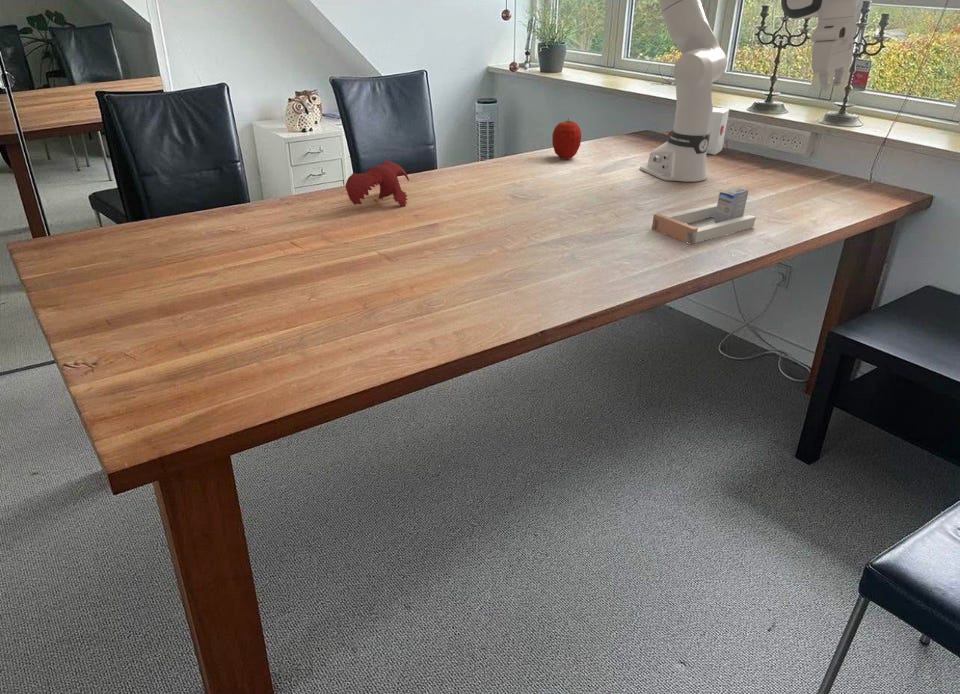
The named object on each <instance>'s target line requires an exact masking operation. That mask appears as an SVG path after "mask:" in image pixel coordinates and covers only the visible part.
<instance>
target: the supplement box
mask: <svg viewBox="0 0 960 694" xmlns="http://www.w3.org/2000/svg"><path fill="white" fill-rule="evenodd" d="M729 112H730V109H729V108H723V107H722V108H721V107H714V106H713V111H712V117H711V123H710V129H709V133H710V139H709V144H708V147H707V151H706V154H708V155H717V154H719V153H720V152H721V151H722V150H723V146H724V141H725V134H726V131H727V125H728V124H727V123H728V119H729Z"/></svg>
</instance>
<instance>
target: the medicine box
mask: <svg viewBox="0 0 960 694" xmlns="http://www.w3.org/2000/svg"><path fill="white" fill-rule="evenodd" d="M748 195H749V190H748V189H746V188H742V187H737V186H732V187H730V188H727V189H725V190H722V191H720V192H719V194H718V197H717V198H718V199H717V203H716V204H717V209H716V214H715V217H714V220H713V223H714V222H715V223H719V222H723V221H727V220H731V219H735V218H739V217H743V216H744V213H745V209H746V205H747V200H748ZM715 223H714V224H715Z"/></svg>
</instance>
